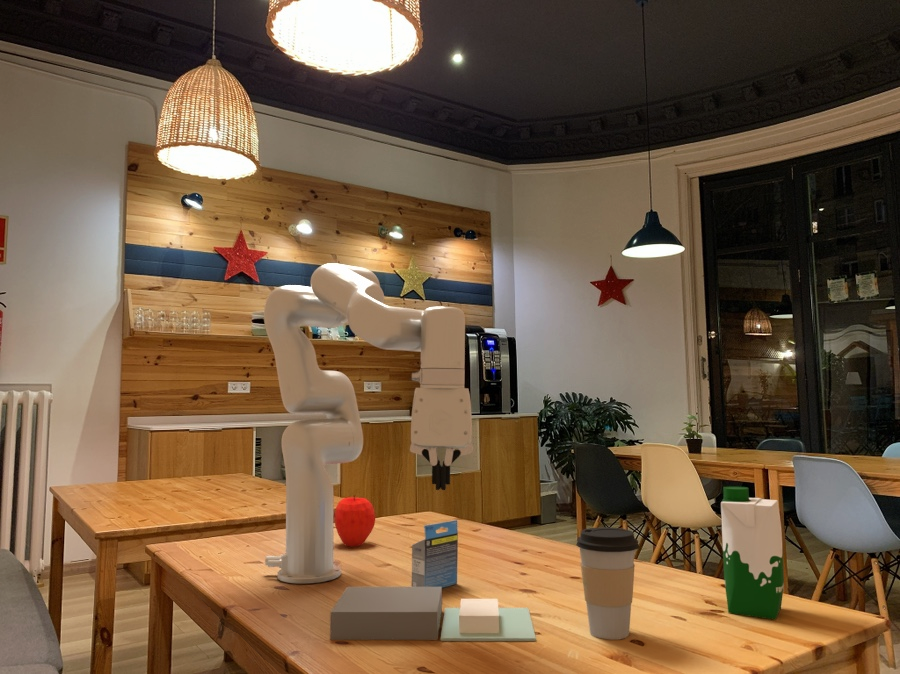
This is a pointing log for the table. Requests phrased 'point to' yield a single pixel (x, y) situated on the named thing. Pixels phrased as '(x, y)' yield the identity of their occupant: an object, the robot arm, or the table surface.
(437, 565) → the label tape box
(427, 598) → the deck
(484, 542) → the table surface
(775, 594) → the milk carton
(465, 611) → the tile
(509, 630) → the mat
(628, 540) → the coffee cup
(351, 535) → the apple
